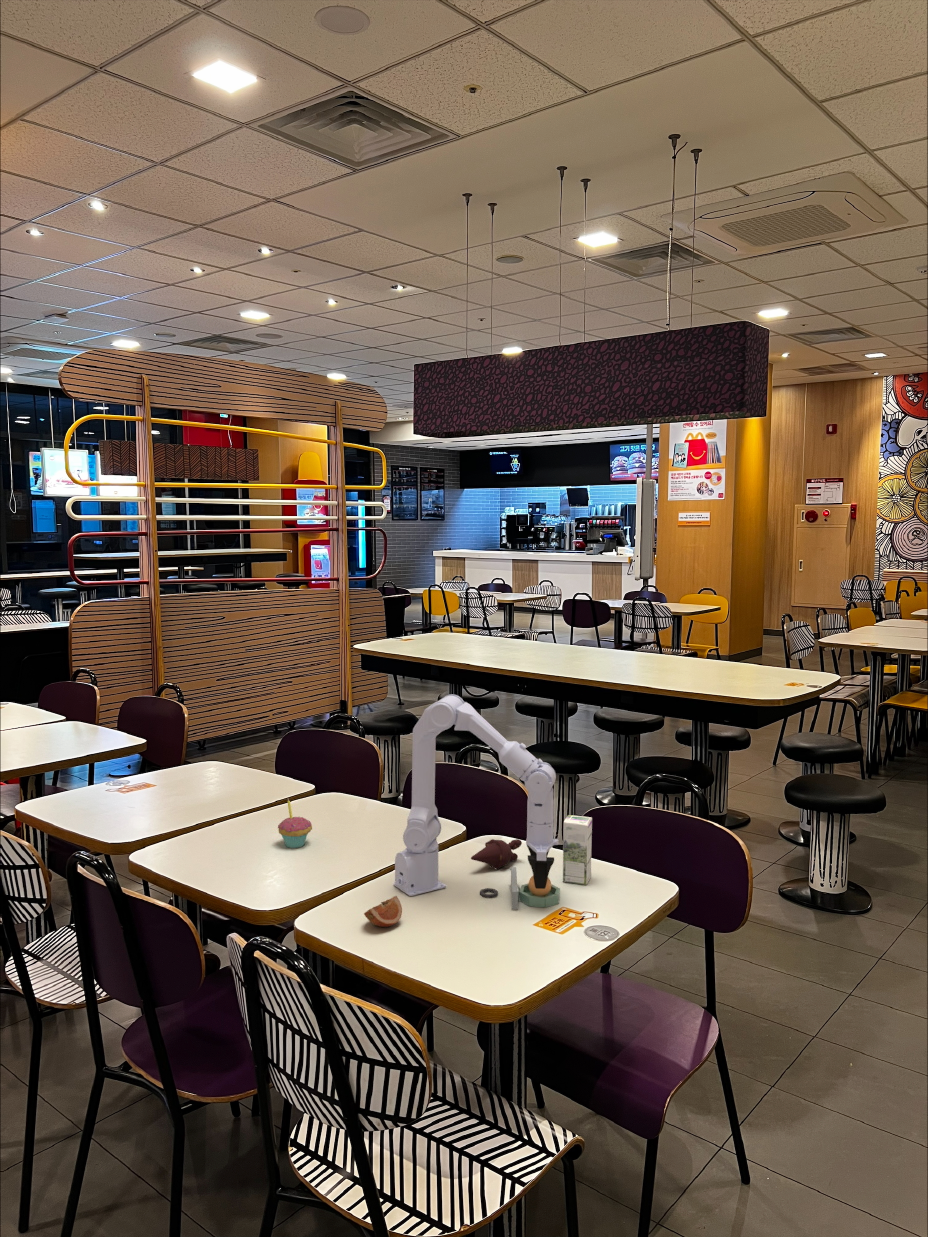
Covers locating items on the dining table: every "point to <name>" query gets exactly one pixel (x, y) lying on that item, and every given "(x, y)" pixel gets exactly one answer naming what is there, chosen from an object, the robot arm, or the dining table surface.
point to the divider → (514, 888)
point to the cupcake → (294, 830)
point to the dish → (537, 901)
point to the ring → (483, 891)
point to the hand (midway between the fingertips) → (539, 881)
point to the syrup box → (577, 849)
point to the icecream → (497, 853)
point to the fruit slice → (385, 913)
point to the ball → (539, 891)
